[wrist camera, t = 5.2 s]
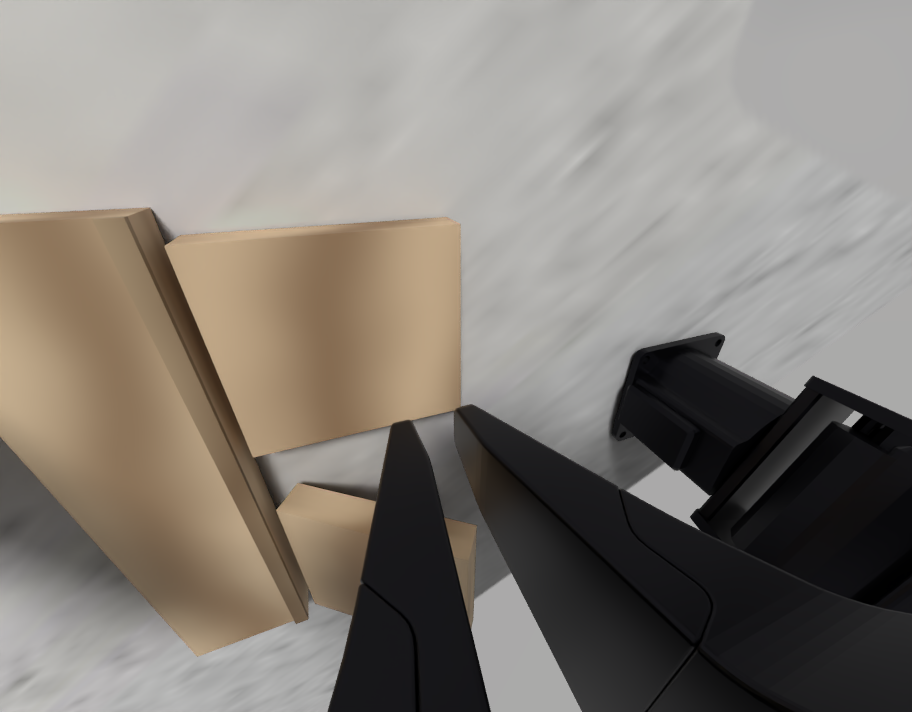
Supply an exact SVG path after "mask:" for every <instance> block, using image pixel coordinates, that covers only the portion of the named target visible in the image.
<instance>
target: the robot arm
mask: <svg viewBox="0 0 912 712" xmlns="http://www.w3.org/2000/svg"><path fill="white" fill-rule="evenodd" d="M724 341H725V336H724V335H722V334H719V333H717V332H715V333H710V334H706V335H701V336H697V337H692V338H688V339H683V340H679V341H674V342H670V343H666V344H661V345H657V346H652V347H648V348H643V349H641V350H639V351H638V352H637V353H636V354H635V356H634V358H633V361H632V365H631V368H630V372H629V375H628V379H627V382H626V385H625V389H624V392H623V396H622V399H621V403H620V406H619V409H618V413H617V416H616V420H615V423H614V427H613V430H612V436H613V437H614V438H615V439H616V440H618V441H621V440H624V439H627V438H630V437H634V436H635V437H636V438H638V439H639V440H640V441H641V442H642V443H643V444H645V445H646V446H647V447H648V448H649V449H650V450H651V451H653V452H654V453H655V454H656V455H657V456H658V457H659V458H661V459H662V460H663V461H664V462H665V463H666V464H667V465H669V466H670V467H671V468H672V469H674V470H680V471H681V472H682V473H684V474H685V475H686V476H687V477H688V478H689V479H691V480H692V481H693V482H694V483H695V484H696V485H698V486H699V487H700V488H701V489H702V490H703V491H705V492H706V493H707V494H708V495H711V497H710V498H709V499H708V500H707V501H706V502H705V503H704V505H703V506H702V507H701V508H700V509H696V510H695V511H694V513H693V514H692V515H691V516H690V518H691V519H692V521H693V522H694V523H695V524H696V526H697V527H698V528H699V529H700V530H698V529H696V528H694V527H692V526H690V525H688V524H686V523H684V522H682V521H680V520H678V519H676V518H674V517H672V516H670V515H668V514H667V513H665V512H663V511H661V510H659V509H657V508H655V507H654V506H652V505H650V504H648V503H646V502H645V501H643V500H641V499H639V498H637V497H636V496H634V495H632V494H630V493H629V492H627V491H625V490H623V489H618V487H617V486H616V485H614V484H612V483H611V482H609V481H607V480H605V479H604V478H602V477H600V476H598V475H597V474H595V473H593V472H591V471H589V470H588V469H586V468H584V467H582V466H581V465H579V464H577V463H575V462H574V461H572V460H570V459H568V458H567V457H565V456H563V455H561V454H560V453H558V452H556V451H554V450H552V449H551V448H549V447H547V446H545V445H544V444H542V443H540V442H538V441H537V440H535V439H533V438H531V437H530V436H528V435H526V434H524V433H522V432H521V431H519V430H517V429H515V428H514V427H512V426H510V425H508V424H507V423H505V422H503V421H501V420H500V419H498V418H496V417H494V416H493V415H491V414H489V413H487V412H485V411H484V410H482V409H480V408H478V407H477V406H475V405H472V404H471V405H466V406H462V407H458V408H456V409H455V410H454V440H455V444H456V448H457V450H458V453H459V456H460V458H461V461H462V464H463V467H464V469H465V472H466V475H467V477H468V480H469V483H470V485H471V488H472V491H473V493H474V496H475V499H476V501H477V504H478V506H479V509H480V511H481V513H482V515H483V517H484V519H485V521H486V523H487V525H488V527H489V529H490V531H491V533H492V535H493V537H494V539H495V541H496V543H497V545H498V547H499V549H500V551H501V553H502V555H503V557H504V559H505V561H506V563H507V565H508V567H509V569H510V571H511V573H512V575H513V577H514V578H515V580H516V582H517V584H518V586H519V588H520V590H521V592H522V594H523V596H524V598H525V600H526V602H527V604H528V606H529V608H530V610H531V612H532V614H533V616H534V618H535V620H536V622H537V624H538V626H539V628H540V630H541V631H542V634H543V636H544V638H545V640H546V642H547V643H548V645H549V647H550V649H551V651H552V653H553V655H554V657H555V659H556V661H557V663H558V665H559V667H560V669H561V671H562V673H563V675H564V677H565V679H566V681H567V683H568V685H569V687H570V689H571V691H572V693H573V695H574V697H575V699H576V701H577V703H578V705H579V706H580V708H581V710H582V712H912V420H911V419H909V418H907V417H904V416H902V415H900V414H898V413H896V412H894V411H891V410H889V409H887V408H885V407H882V406H880V405H878V404H876V403H873V402H871V401H869V400H867V399H864V398H862V397H860V396H858V395H855V394H853V393H851V392H849V391H846V390H844V389H842V388H840V387H837V386H835V385H833V384H831V383H828V382H826V381H824V380H821V379H819V378H817V377H815V376H812V377H811V378H810V379H809V380H808V381H807V383H806V384H805V385H804V386H806V388H805V389H804V390H803V391H802V392H801V393H800V395H799V396H798V397H797V398H796V399H794V398H792V397H790V396H788V395H786V394H784V393H782V392H780V391H778V390H776V389H774V388H772V387H770V386H768V385H766V384H764V383H762V382H761V381H759V380H757V379H755V378H753V377H751V376H749V375H747V374H745V373H743V372H741V371H739V370H737V369H735V368H733V367H731V366H729V365H727V364H725V363H723V362H721V361H720V360H718V359H717V357H718V355H719V352H720V350H721V348H722V346H723V343H724ZM854 410H855V411H857V412H859V413H861V414H863V416H862V417H861V418H860V419H859V420H858V421H857V422H856V423H855V424H854V425H853V426H852V427H849V426H847V425H844V424H842V423H843V422H844V421H845V420H846V419H847V418H848V417H849V416H850V414H851V413H852V412H853V411H854ZM360 582H361V584H360V585H359V587H358V592H357V597H356V602H355V607H354V611H353V616H352V620H351V625H350V629H349V633H348V638H347V642H346V646H345V651H344V655H343V659H342V662H341V666H340V670H339V673H338V677H337V680H336V684H335V687H334V691H333V694H332V698H331V701H330V705H329V708H328V712H491V710H490V706H489V702H488V698H487V694H486V690H485V685H484V681H483V677H482V673H481V669H480V664H479V660H478V656H477V652H476V648H475V644H474V640H473V635H472V631H471V627H470V623H469V619H468V614H467V610H466V606H465V602H464V598H463V594H462V589H461V585H460V581H459V577H458V573H457V569H456V564H455V560H454V556H453V552H452V548H451V544H450V539H449V535H448V531H447V527H446V523H445V519H444V514H443V510H442V506H441V502H440V498H439V494H438V489H437V485H436V481H435V477H434V473H433V469H432V465H431V462H430V459H429V456H428V454H427V452H426V450H425V448H424V445H423V443H422V441H421V439H420V437H419V435H418V433H417V431H416V429H415V427H414V424H413V422H412V421H411V420H409V419H408V420H404V421H399V422H395V423H393V424H392V425H391V429H390V434H389V439H388V444H387V449H386V454H385V459H384V464H383V469H382V474H381V479H380V484H379V489H378V494H377V499H376V504H375V509H374V514H373V519H372V524H371V528H370V533H369V538H368V543H367V548H366V553H365V558H364V563H363V568H362V573H361V578H360Z"/></svg>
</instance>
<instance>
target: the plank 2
mask: <svg viewBox="0 0 912 712" xmlns="http://www.w3.org/2000/svg"><path fill="white" fill-rule="evenodd" d="M375 504H376V501H372V500H367V499H363V498H359V497H355V496H351V495H346V494H342V493H338V492H334V491H329V490H325V489H321V488H317V487H313V486H308V485H304V484H300V483H297V485H296V486H295V487H294V488H293V490H292V491H291V492H290V493H289V495H288V496H287V497H286V499H285V500H284V501H283V502H282V504H281V505H280V506H279V507H278V509H277V510H276V511H277V514H278V516H279V519H280V521H281V523H282V526H283V528H284V531H285V533H286V535H287V538H288V540H289V542H290V545H291V547H292V550H293V552H294V554H295V557H296V559H297V562H298V564H299V566H300V569H301V571H302V574H303V576H304V578H305V581H306V583H307V585H308V588H309V590H310V593H311V595H312V597H313V600H314V602H315V604H318V605H321V606H324V607H328V608H331V609H334V610H337V611H340V612H343V613H346V614H349V615H353V611H354V607H355V602H356V597H357V592H358V587H359V585H360V584H361V582H360V578H361V573H362V568H363V563H364V558H365V553H366V548H367V543H368V538H369V533H370V528H371V524H372V519H373V514H374V509H375ZM444 519H445V523H446V527H447V531H448V535H449V539H450V544H451V548H452V552H453V556H454V560H455V564H456V569H457V573H458V577H459V581H460V585H461V589H462V594H463V598H464V602H465V606H466V610H467V614H468V619H469V623H470V627H472V622H473V611H474V610H473V609H474V585H475V559H476V532H477V525H473V524H469V523H465V522H460V521H456V520H452V519H448V518H444Z"/></svg>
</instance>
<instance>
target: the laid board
mask: <svg viewBox="0 0 912 712" xmlns="http://www.w3.org/2000/svg"><path fill="white" fill-rule="evenodd" d="M164 246H165V242H164V240H163V238H162V235H161V233H160V230H159V228H158V226H157V223H156V221H155V218H154V216H153V214H152V211H151V209H150V208H132V209H112V210H91V211H70V212H50V213H29V214H8V215H0V437H1V438H2V439H3V440H4V441H5V443H6V444H7V445H8V446H9V447H10V448H11V449H12V450H13V452H14V453H15V454H16V455H17V456H18V457H19V458H20V459H21V460H22V462H23V463H24V464H25V465H26V466H27V467H28V468H29V469H30V471H31V472H32V473H33V474H34V475H35V476H36V477H37V478H38V479H39V481H40V482H41V483H42V484H43V485H44V486H45V487H46V488H47V489H48V491H49V492H50V493H51V494H52V495H53V496H54V497H55V498H56V500H57V501H58V502H59V503H60V504H61V505H62V506H63V507H64V508H65V510H66V511H67V512H68V513H69V514H70V515H71V516H72V517H73V519H74V520H75V521H76V522H77V523H78V524H79V525H80V526H81V527H82V529H83V530H84V531H85V532H86V533H87V534H88V535H89V536H90V537H91V539H92V540H93V541H94V542H95V543H96V544H97V545H98V546H99V548H100V549H101V550H102V551H103V552H104V553H105V554H106V555H107V556H108V558H109V559H110V560H111V561H112V562H113V563H114V564H115V565H116V567H117V568H118V569H119V570H120V571H121V572H122V573H123V574H124V575H125V577H126V578H127V579H128V580H129V581H130V582H131V583H132V584H133V586H134V587H135V588H136V589H137V590H138V591H139V592H140V593H141V594H142V596H143V597H144V598H145V599H146V600H147V601H148V602H149V603H150V604H151V606H152V607H153V608H154V609H155V610H156V611H157V612H158V613H159V615H160V616H161V617H162V618H163V619H164V620H165V621H166V622H167V623H168V625H169V626H170V627H171V628H172V629H173V630H174V631H175V632H176V634H177V635H178V636H179V637H180V638H181V639H182V640H183V641H184V642H185V644H186V645H187V646H188V647H189V648H190V649H191V650H192V651H193V652H194V654H195V655H196V656H197V657H198V656H201V655H203V654H206V653H209V652H211V651H214V650H217V649H219V648H222V647H225V646H227V645H230V644H233V643H235V642H238V641H241V640H243V639H246V638H249V637H251V636H254V635H257V634H259V633H262V632H265V631H267V630H270V629H273V628H275V627H278V626H281V625H283V624H286V623H289V622H291V621H295V623H296V624H297V623H300V622H303V621H305V620H308V585H307V583H306V581H305V578H304V576H303V574H302V571H301V569H300V566H299V564H298V562H297V559H296V557H295V554H294V552H293V550H292V547H291V545H290V542H289V540H288V538H287V535H286V533H285V531H284V528H283V526H282V523H281V521H280V519H279V516H278V514H277V511H276V508H275V505H274V503H273V501H272V498H271V496H270V493H269V491H268V489H267V486H266V484H265V482H264V479H263V477H262V474H261V472H260V470H259V467H258V465H257V462H256V460H255V458H253V456H252V454H251V452H250V449H249V447H248V444H247V442H246V440H245V437H244V435H243V433H242V430H241V428H240V425H239V423H238V421H237V418H236V416H235V413H234V411H233V409H232V406H231V404H230V402H229V399H228V397H227V394H226V392H225V390H224V387H223V385H222V383H221V380H220V378H219V375H218V373H217V371H216V368H215V366H214V364H213V361H212V359H211V356H210V354H209V352H208V349H207V347H206V345H205V342H204V340H203V337H202V335H201V333H200V330H199V328H198V326H197V323H196V321H195V318H194V316H193V314H192V311H191V309H190V307H189V304H188V302H187V299H186V297H185V295H184V292H183V290H182V288H181V285H180V283H179V280H178V278H177V276H176V273H175V271H174V269H173V266H172V264H171V261H170V259H169V257H168V254H167V252H166V250H165V247H164Z"/></svg>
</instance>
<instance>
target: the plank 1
mask: <svg viewBox="0 0 912 712" xmlns="http://www.w3.org/2000/svg"><path fill="white" fill-rule="evenodd" d="M164 247H165V250H166V252H167V254H168V257H169V259H170V261H171V264H172V266H173V269H174V271H175V273H176V276H177V278H178V280H179V283H180V285H181V288H182V290H183V292H184V295H185V297H186V299H187V302H188V304H189V307H190V309H191V311H192V314H193V316H194V318H195V321H196V323H197V326H198V328H199V330H200V333H201V335H202V337H203V340H204V342H205V345H206V347H207V349H208V352H209V354H210V356H211V359H212V361H213V364H214V366H215V368H216V371H217V373H218V375H219V378H220V380H221V383H222V385H223V387H224V390H225V392H226V394H227V397H228V399H229V402H230V404H231V406H232V409H233V411H234V413H235V416H236V418H237V421H238V423H239V425H240V428H241V430H242V433H243V435H244V437H245V440H246V442H247V444H248V447H249V449H250V452H251V454H252V456H253V458H254V457H258V456H262V455H266V454H271V453H275V452H279V451H283V450H288V449H292V448H296V447H300V446H305V445H309V444H313V443H317V442H322V441H326V440H330V439H334V438H339V437H343V436H347V435H351V434H356V433H360V432H364V431H368V430H373V429H377V428H381V427H385V426H390V425H392V424H393V423H395V422H399V421H404V420H408V419H409V420H415V419H420V418H424V417H428V416H432V415H437V414H441V413H445V412H449V411H454V410H455V409H456V408H458V407H461V330H460V224H459V223H457V222H455V221H453V220H451V219H449V218H447V217H442V218H427V219H413V220H398V221H383V222H368V223H354V224H339V225H324V226H309V227H294V228H280V229H265V230H250V231H235V232H221V233H206V234H191V235H180V236H179V237H177V238H176V239H174V240H173V241H171V242H170V243H168V244H167V245H165V246H164Z"/></svg>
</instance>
